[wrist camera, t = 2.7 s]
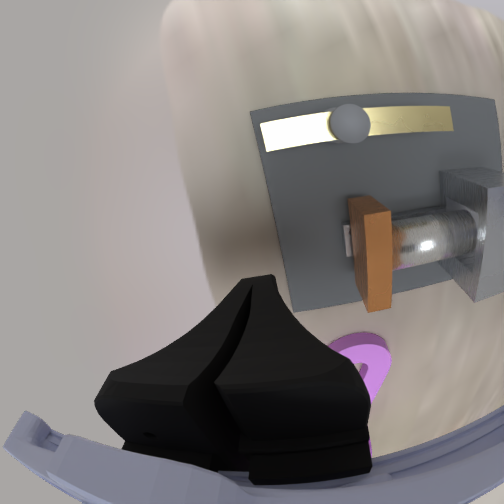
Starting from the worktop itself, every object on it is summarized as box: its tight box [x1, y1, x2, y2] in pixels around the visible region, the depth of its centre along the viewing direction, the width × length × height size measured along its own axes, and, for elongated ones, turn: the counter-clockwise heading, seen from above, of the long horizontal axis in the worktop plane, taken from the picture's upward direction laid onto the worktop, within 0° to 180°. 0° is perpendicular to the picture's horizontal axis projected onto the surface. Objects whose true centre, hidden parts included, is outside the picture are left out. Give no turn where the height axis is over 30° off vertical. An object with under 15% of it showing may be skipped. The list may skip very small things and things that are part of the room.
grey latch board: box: [250, 93, 502, 312], centre depth 12 cm, size 16×12×4 cm
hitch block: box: [341, 167, 504, 303], centre depth 12 cm, size 12×6×5 cm, turn 103°
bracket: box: [328, 333, 392, 458], centre depth 17 cm, size 13×6×7 cm, turn 179°
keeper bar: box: [260, 106, 454, 152], centre depth 10 cm, size 9×1×2 cm, turn 103°
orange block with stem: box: [348, 195, 477, 313], centre depth 12 cm, size 7×5×3 cm
